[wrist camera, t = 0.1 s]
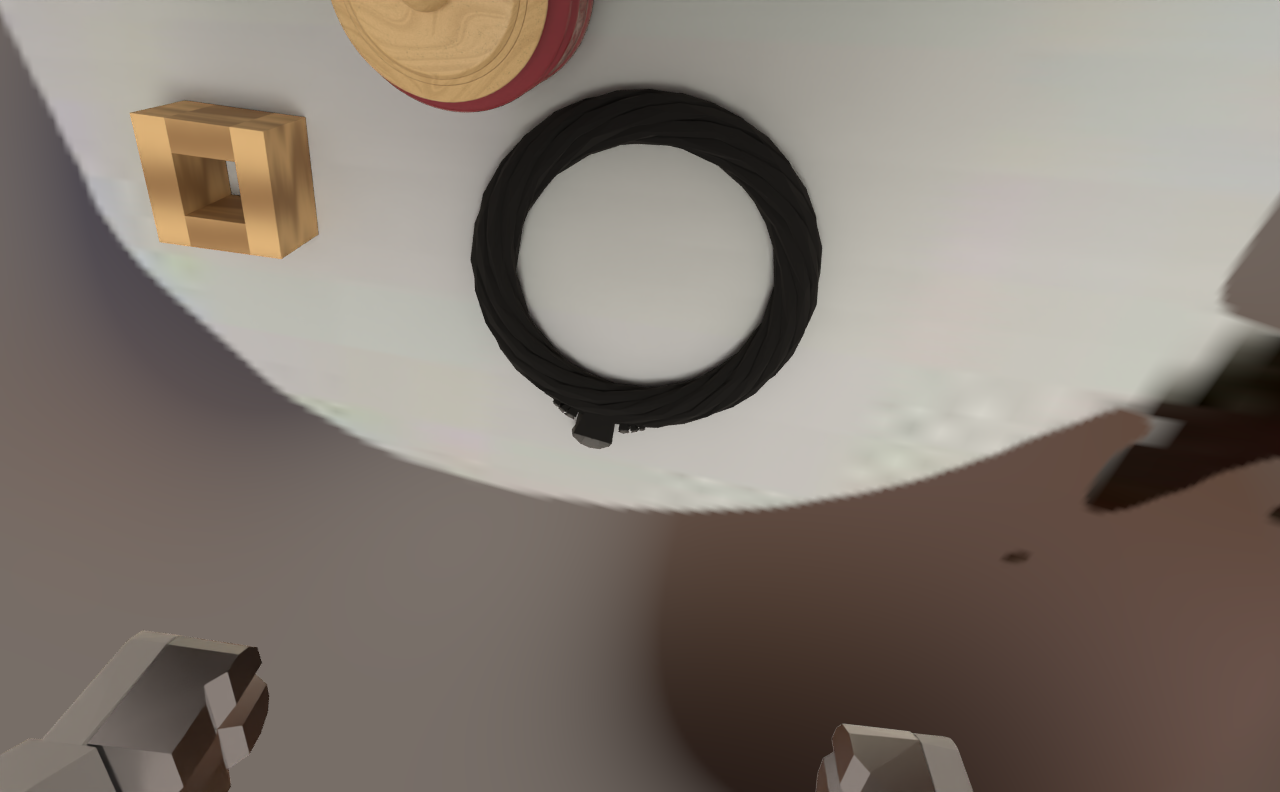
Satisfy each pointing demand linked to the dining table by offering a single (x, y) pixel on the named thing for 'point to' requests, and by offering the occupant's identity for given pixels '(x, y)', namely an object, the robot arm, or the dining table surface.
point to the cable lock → (654, 124)
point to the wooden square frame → (198, 179)
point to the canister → (465, 45)
